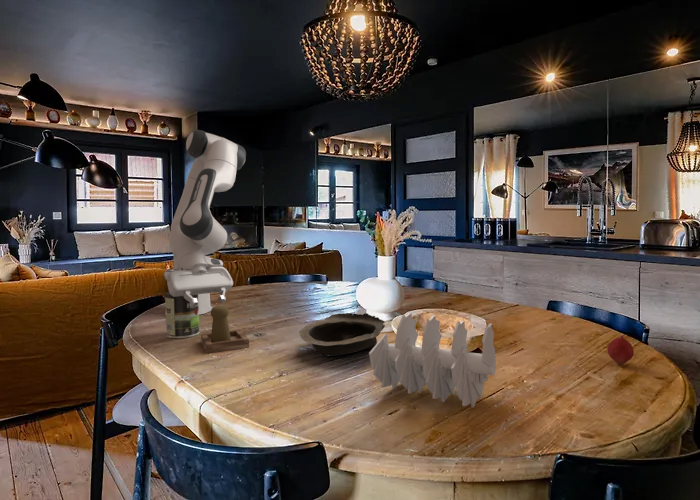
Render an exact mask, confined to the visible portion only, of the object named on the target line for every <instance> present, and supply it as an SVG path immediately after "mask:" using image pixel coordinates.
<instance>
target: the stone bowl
mask: <svg viewBox="0 0 700 500" xmlns="http://www.w3.org/2000/svg"><path fill="white" fill-rule="evenodd" d="M385 323H386V321H385V320H383V319H380V318H379V317H378V316H377V317H376V316H375V315H371V314H369V313H363V314H362V313H359V314H358V313H351V312H350V313H348V312H345V313H343V312H342V313H341V312H339V313H334V314H331V315H329V317H325V319H323V320H316V321H315V322H311V323H310V324H307V325H305V326H303V328H301V329H300V330H299V331H298V333H299V337H300V339H301V340H303V341H304V342H306V343H309V344H311V345H312V347H313V348H314V350H315V352H316V353H317V354H318V355H320V356H321V357H324V358H326V357H330V356H331V357H336V356H342V355H346V354H350V353H356V352H360V351H362V350H364V351H367V352H370V351H371V350H372V349H373V348H374V346H375V345H376V344H377V343H378V339H377V337H379V335H380V334H381V333H382V331H383V330H384V328H385V327H386V324H385Z"/></svg>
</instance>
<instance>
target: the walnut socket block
mask: <svg viewBox="0 0 700 500" xmlns="http://www.w3.org/2000/svg"><path fill="white" fill-rule="evenodd" d="M229 331H230V337H231V340H227V341H220V342H211V332H210V333H201V334H200V343H201V345H202V346H203V349H205V352H206V353H207V354H212V353H219V352H225V351H233V350H242V349H248V348H250V339H249V337H248V336H247V335H246V334H245V333H244V332H243V331H242V330H241V329H233V330H229Z"/></svg>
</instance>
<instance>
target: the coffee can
mask: <svg viewBox="0 0 700 500" xmlns="http://www.w3.org/2000/svg"><path fill="white" fill-rule="evenodd" d="M191 296H192V297H193V298H196V299H197V301H198V294H196V295H191ZM164 298H165V301H164V303H165V312H166V315H165V317H166V318H165V322H166V324H165V325H166V337H167V338H169V339H187V338H193V337H196V336H198V335H199V334H200V315H199V308H198V304H197V306H191V304H190V302H189V301H187V300H186V299H185V298H184V296H176V297H173V296H172V295H170V293H169V291H167V292H165V293H164Z"/></svg>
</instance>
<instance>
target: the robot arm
mask: <svg viewBox="0 0 700 500" xmlns="http://www.w3.org/2000/svg"><path fill="white" fill-rule="evenodd" d="M185 151H186V153H187V154H188V155H189V156H190V157H191V158H194V162H193V163H192V165H191V167H190V170H189V172H188V175H187V178H186V181H185V184H184V188H183V191H182V195H181V197H180V199H179V203H178V204H177V208H176V210H175V213H174V216H173V219H172V222H171V225H170V231H169V235H168V242H169V245H170V249H171V253H172V255H173V268H168V269H167V270H165V271H164V272H163V275H164V279H165V280H166V281H167V289H168V292H169V293H170V295H172V296H173V297H176V296H184V298H185V299H186V300H187V301H189V302H190V304H191V306H197V304H198V308H199V316H200V315H203V314H207V313H209V312H211V310H212V308H213V307H214V306H212V305H211V296H210V294H212V293H218V294H219V297H218V301H219V304H222V303H226V301H227V297H226V296H225V295H226V292H229V291H230V290H231V289H232V287H233V285H234V280H233V278H232V276H231V274H230V272H229V271H228V270H227V268H226V267H223V266H224V262H223V260H220V259H217V258H213V257H209V255H212V254H213V253H216V252H218V251H220V250H222V248H223V247H225V245H226V243H227V242H228V238H229V237H228V236H229V235H228V232H227V229H225V228H224V227H223V226H222V224H220V222H218V221H217V220H216V219H215V217H214V216H213V215H212V212H211V210H210V208H211V207H210V206H211V204H212V201H213V197H214V194H215V193H221V192H227V191H228V190H230V189H232V187H234V183H235V182H236V178H237V177H236V175H237V171H239V170H241V169H242V167H243V166H244V165H245V162H246V157H247V152H246V149H245V148H244V147H243V145H240V144H239V143H235V142H233V141H231V140H229V139H227V138H225V137H223V136H219V135H216V134H213V133H209V132H206V131H205V130H201V129H195V130H193V131H192V132H191V133H190V134H189V135H188V136H187V139H186V142H185ZM196 294H198V301H197V299H196V298H193V297H192V296H191V295H196ZM164 315H165V316H166V311H165V312H164Z"/></svg>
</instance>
